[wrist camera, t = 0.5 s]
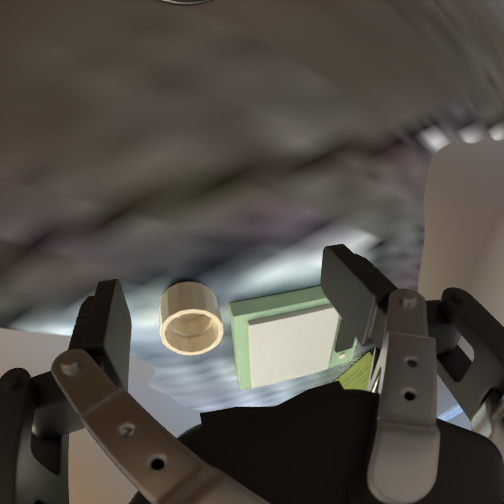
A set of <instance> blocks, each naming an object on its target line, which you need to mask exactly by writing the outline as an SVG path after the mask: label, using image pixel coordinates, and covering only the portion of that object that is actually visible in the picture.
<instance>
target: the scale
mask: <svg viewBox="0 0 504 504" xmlns="http://www.w3.org/2000/svg"><path fill="white" fill-rule="evenodd" d="M229 309H230V319H231V329H232V338H233V347H234V357H235V365H236V374H237V380H238V383H239V387H240V390H243V389H248V388H256V387H260V386H265V385H269V384H273V383H278V382H282V381H286V380H290V379H294V378H298V377H301V376H305V375H309V374H312V373H316V372H320V371H323V370H326V369H328V368H331V367H334V366H338V365H341V364H344V363H347V362H350V361H352V357H353V354H354V351H355V347H356V344H357V339H356V337H355V336H354V334H353V333H352V332H351V330H350V329H349V328H348V326H347V325H346V323H345V322H344V321H343V319H342V318H341V316H340V315H339V314H338V312H337V311H336V310H335V308H334V307H333V306H332V304H331V303H330V301H329V300H328V299H327V297H326V296H325V295H324V293H323V291H322V287H321V286H317V287H312V288H307V289H302V290H297V291H292V292H287V293H281V294H276V295H271V296H265V297H260V298H254V299H249V300H243V301H238V302H232V303H229Z"/></svg>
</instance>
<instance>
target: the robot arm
mask: <svg viewBox="0 0 504 504" xmlns="http://www.w3.org/2000/svg"><path fill="white" fill-rule="evenodd" d="M160 1H162V2H165V3H169V4H174V5H185V6H187V5H199V4H204V3H208V2H211V1H214V0H160ZM321 287H322V291H323V293H324V295H325V296H326V297H327V299H328V300H329V301H330V303H331V304H332V306H333V307H334V308H335V310H336V311H337V312H338V314H339V315H340V316H341V318H342V319H343V321H344V322H345V323H346V325H347V326H348V328H349V329H350V330H351V332H352V333H353V334H354V336H355V337H356V339H357V340H358V341H359V343H360V344H361V346H362V347H363V346H366V345H369V344H372V343H374V345H375V346H376V347H375V350H374V353H373V359H372V365H371V371H370V376H369V381H368V386H367V390H361V389H344V388H343V386H342V385H341V383H340V381H339V380H338V381H335V382H332V383H329V384H325V385H322V386H319V387H315V388H312V389H308V390H306V391H304V392H302V393H301V394H299V395H297V396H295V397H293V398H291V399H289V400H287V401H285V402H283V403H281V404H279V405H277V406H273V407H233V408H228V409H222V410H217V411H211V412H205V413H200V417H201V422H202V423H201V424H199V425H196V426H194V427H192V428H190V429H189V430H187V431H185V432H184V433H183V434H181V435H180V436H179V437H177V438H175V437H174V436H173V435H172V434H171V433H170V432H169V431H167V430H166V429H165V428H164V427H163V426H162V425H161V424H160V423H159V422H158V421H156V420H155V419H154V418H153V417H152V416H151V415H150V414H149V413H148V412H147V411H146V410H145V409H144V408H143V407H142V406H141V405H140V404H139V403H138V402H137V401H136V400H135V399H134V398H133V397H132V396H131V395H130V394H129V393H128V371H129V354H130V340H131V328H132V325H131V317H130V312H129V309H128V306H127V303H126V300H125V297H124V294H123V291H122V287H121V284H120V282H119V280H118V279H113V280H106V281H100V282H99V283H98V286H97V289H96V293H95V296H88V298H87V299H86V300H85V301H84V302H83V304H82V305H81V307H80V310H79V313H78V317H77V320H76V325H75V327H74V330H73V334H72V337H71V341H70V344H69V348H68V350H67V351H65V352H63V353H62V354H60V355H59V356H58V357H57V358H56V359H55V360H54V362H53V364H52V368H51V371H49V372H46V373H43V374H40V375H38V376H34V377H31V376H30V374H29V373H28V372H27V370H25V369H23V368H14V369H11V370H9V371H7V372H6V373H5V374H4V375H3V376H2V377H1V378H0V504H69V489H68V447H69V433H71V432H74V431H77V430H80V429H83V428H86V429H87V430H88V432H89V433H90V434H91V436H92V437H93V438H94V439H95V441H96V442H97V443H98V445H99V446H100V447H101V448H102V450H103V451H104V452H105V453H106V454H107V456H108V457H109V458H110V459H111V461H112V462H113V463H114V464H115V465H116V466H117V468H118V469H119V470H120V471H121V472H122V473H123V474H124V476H125V477H126V478H127V479H128V480H129V481H130V482H131V483H132V484H133V485H134V486H135V487H136V488H137V490H138V491H137V493H136V494H135V496H134V497H133V498H132V500H131V501H130V502H129V504H504V327H503V326H502V325H501V324H500V323H499V322H498V321H497V320H496V319H495V318H494V317H493V316H492V315H491V314H490V313H489V312H488V311H487V310H486V309H485V308H484V307H483V306H482V305H481V304H480V303H479V302H478V301H477V300H475V299H474V298H473V297H472V296H471V295H470V294H469V293H467V292H466V291H464V290H462V289H459V288H447V289H445V290H444V291H443V294H442V297H441V300H430V301H425V299H424V297H423V296H422V295H420V294H419V293H417V292H416V291H413V290H410V289H398V288H397V287H396V286H395V285H394V284H393V283H392V282H391V281H390V280H389V279H387V278H386V277H385V276H384V275H383V274H382V273H380V271H379V270H378V269H377V268H376V267H374V265H373V264H372V263H371V262H369V261H368V260H367V259H366V258H364V257H362V256H360V255H358V254H354V253H353V252H352V251H351V250H349V249H348V248H347V247H346V246H345V245H344V244H338V245H332V246H326V247H325V248H324V250H323V258H322V270H321ZM461 335H462V336H463V337H464V338H465V339H466V340H467V342H468V343H469V344H470V345H471V346H472V348H473V350H474V360H473V362H472V361H471V360H470V359H469V358H468V357H467V356H466V354H465V353H464V352H463V351H462V349H461V348H460V347H459V346H458V345H457V343H458V341H459V339H460V337H461ZM437 374H438V375H439V377H440V378H441V379H442V381H443V382H444V383H445V385H446V386H447V388H448V389H449V391H450V392H451V393H452V395H453V396H454V398H455V399H456V400H457V402H458V403H459V405H460V406H461V408H462V409H463V411H464V412H465V414H466V415H467V417H468V418H469V420H470V421H471V428H472V431H470V430H467V429H465V428H462V427H459V426H456V425H454V424H451V423H448V422H446V421H443V420H441V419H438V418H436V410H437V408H436V407H437Z"/></svg>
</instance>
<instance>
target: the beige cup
mask: <svg viewBox="0 0 504 504" xmlns="http://www.w3.org/2000/svg"><path fill="white" fill-rule="evenodd" d="M159 323H160V336H161V339H162V342H163V344H164V345H165V346H166V347H167V348H168V349H170V350H172V351H174V352H176V353H178V354H184V355H196V354H202V353H205V352H207V351H209V350H211V349H213V348H214V347H215V346H216V345H217V344H218V343H219V342H220V341H221V339H222V336H223V334H224V329H223V323H222V319H221V315H220V311H219V308H218V304H217V300H216V296H215V295H214V293H213V292H212V291H211V289H210V288H208V287H206V286H205V285H203V284H201V283H196V282H191V281H190V282H189V281H188V282H182V283H177V284H175V285H173V286H171V287H169V288H168V289H167V290H166V291H165V293H164V294H163V295H162V297H161V300H160V304H159Z"/></svg>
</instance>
